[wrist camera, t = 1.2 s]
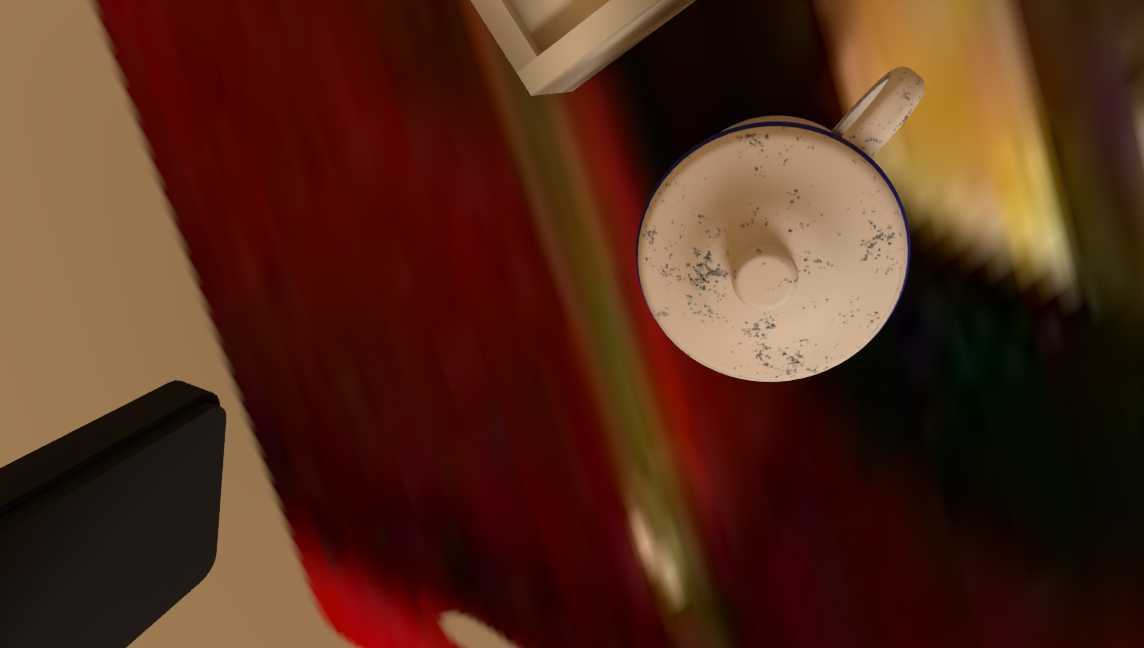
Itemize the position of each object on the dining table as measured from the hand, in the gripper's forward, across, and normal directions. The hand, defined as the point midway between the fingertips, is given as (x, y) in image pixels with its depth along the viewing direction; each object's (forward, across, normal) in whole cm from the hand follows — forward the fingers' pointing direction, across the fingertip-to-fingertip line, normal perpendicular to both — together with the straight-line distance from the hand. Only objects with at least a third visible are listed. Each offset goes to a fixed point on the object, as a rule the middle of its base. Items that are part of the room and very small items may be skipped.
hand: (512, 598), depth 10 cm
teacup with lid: (+27, -3, -3) cm, 27 cm away
